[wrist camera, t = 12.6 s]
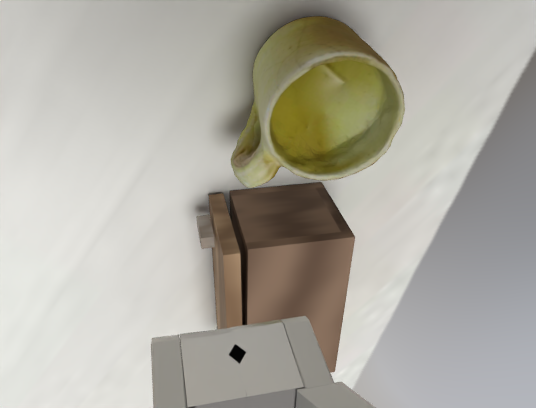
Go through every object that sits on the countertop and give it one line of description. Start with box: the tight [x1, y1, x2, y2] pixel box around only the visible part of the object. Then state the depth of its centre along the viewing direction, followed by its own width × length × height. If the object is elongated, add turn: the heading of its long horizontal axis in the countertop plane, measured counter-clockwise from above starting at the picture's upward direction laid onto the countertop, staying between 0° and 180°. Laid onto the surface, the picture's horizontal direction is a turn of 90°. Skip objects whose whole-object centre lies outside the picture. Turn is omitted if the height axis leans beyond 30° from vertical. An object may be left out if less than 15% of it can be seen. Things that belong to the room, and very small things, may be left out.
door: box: [197, 193, 242, 329], centre depth 43 cm, size 2×16×8 cm, turn 0°
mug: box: [231, 16, 405, 188], centre depth 35 cm, size 12×10×10 cm
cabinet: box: [230, 182, 355, 372], centre depth 44 cm, size 8×15×8 cm, turn 178°
